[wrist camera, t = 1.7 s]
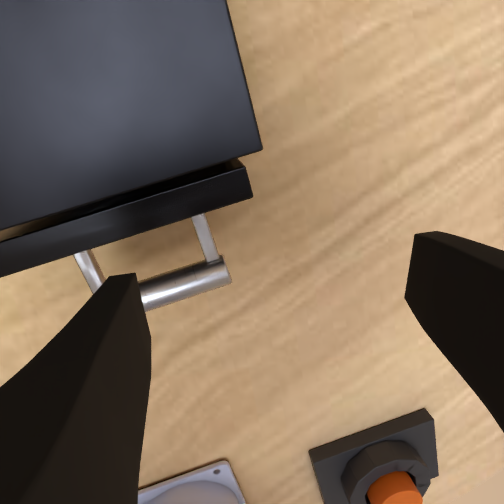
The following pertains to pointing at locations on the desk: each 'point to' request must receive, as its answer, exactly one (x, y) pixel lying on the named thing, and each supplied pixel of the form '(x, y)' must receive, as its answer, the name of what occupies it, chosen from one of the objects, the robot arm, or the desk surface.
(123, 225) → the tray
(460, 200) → the desk surface
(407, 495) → the button
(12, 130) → the black box
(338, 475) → the control block
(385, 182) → the desk surface
